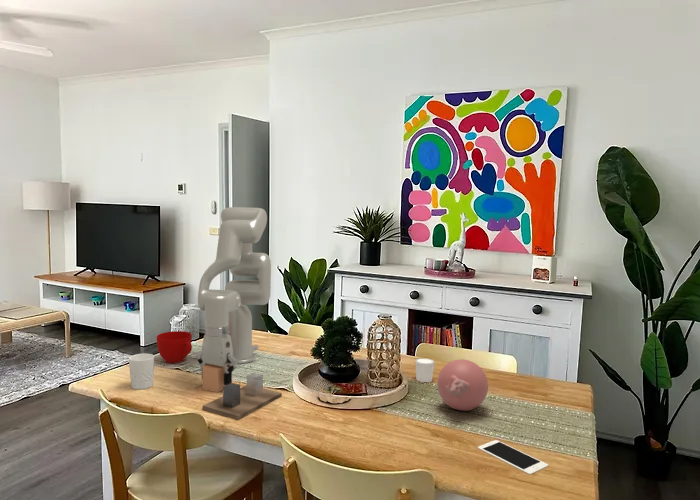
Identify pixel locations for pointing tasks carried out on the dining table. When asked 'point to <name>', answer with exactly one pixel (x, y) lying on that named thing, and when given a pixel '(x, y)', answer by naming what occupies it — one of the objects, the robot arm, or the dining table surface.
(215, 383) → the peach cube
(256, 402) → the walnut board
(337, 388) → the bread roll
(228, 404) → the dark post
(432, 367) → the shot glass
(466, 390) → the pink stress ball
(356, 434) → the dining table surface
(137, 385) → the white cup
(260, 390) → the steel post
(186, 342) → the ceramic cup
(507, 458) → the cell phone
